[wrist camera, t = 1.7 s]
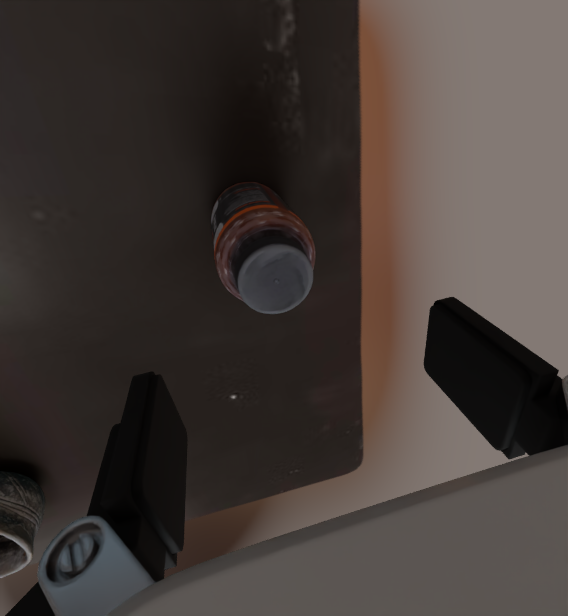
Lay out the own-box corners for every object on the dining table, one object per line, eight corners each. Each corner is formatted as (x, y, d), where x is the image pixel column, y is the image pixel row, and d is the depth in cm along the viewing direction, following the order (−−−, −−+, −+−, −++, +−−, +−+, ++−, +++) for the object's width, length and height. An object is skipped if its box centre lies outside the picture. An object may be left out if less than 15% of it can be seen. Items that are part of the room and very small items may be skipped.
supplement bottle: (193, 219, 25) (189, 283, 16) (249, 162, 24) (280, 194, 14) (248, 268, 28) (272, 348, 19) (299, 220, 27) (353, 278, 17)
